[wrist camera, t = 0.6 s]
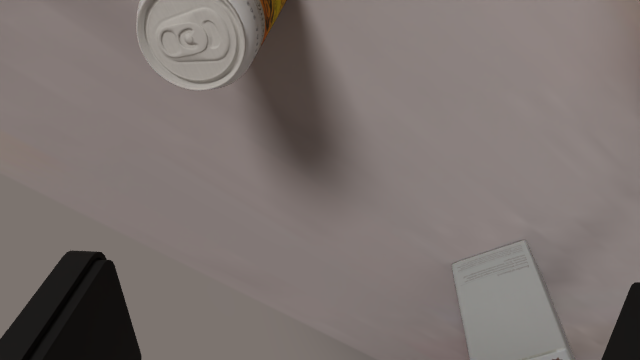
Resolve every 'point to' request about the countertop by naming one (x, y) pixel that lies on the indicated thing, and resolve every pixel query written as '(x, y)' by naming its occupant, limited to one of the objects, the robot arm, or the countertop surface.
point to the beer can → (203, 38)
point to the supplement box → (508, 307)
